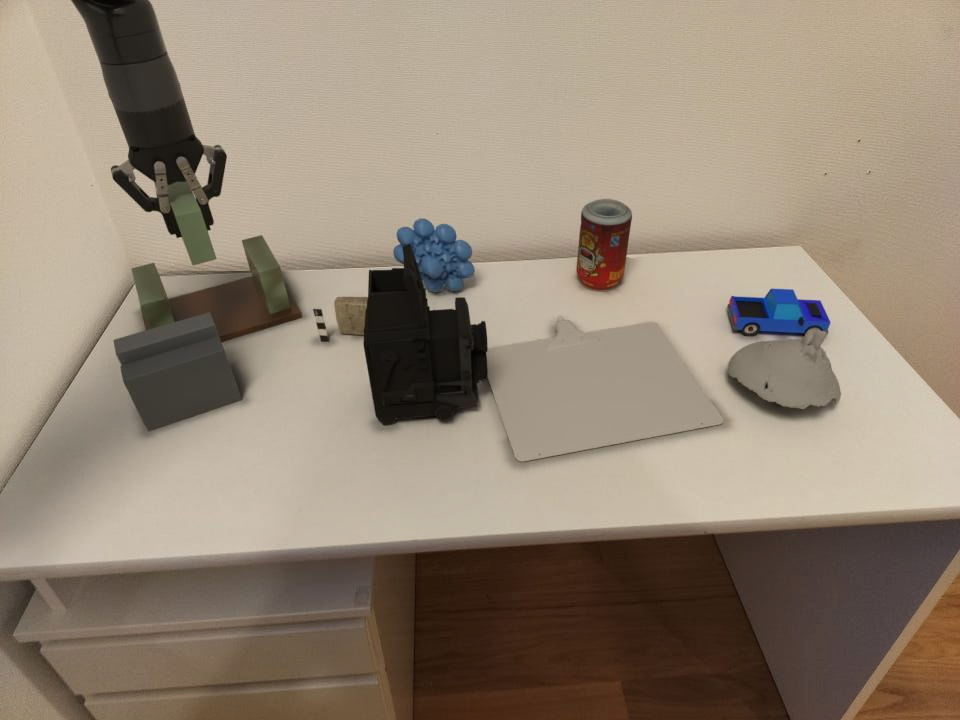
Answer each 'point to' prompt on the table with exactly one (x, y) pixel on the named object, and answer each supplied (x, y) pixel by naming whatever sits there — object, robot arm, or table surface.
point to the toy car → (777, 313)
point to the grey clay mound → (788, 371)
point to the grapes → (436, 254)
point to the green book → (191, 223)
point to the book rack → (223, 297)
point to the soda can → (603, 244)
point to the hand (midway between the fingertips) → (193, 230)
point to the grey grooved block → (176, 371)
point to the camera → (419, 348)
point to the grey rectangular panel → (594, 390)
